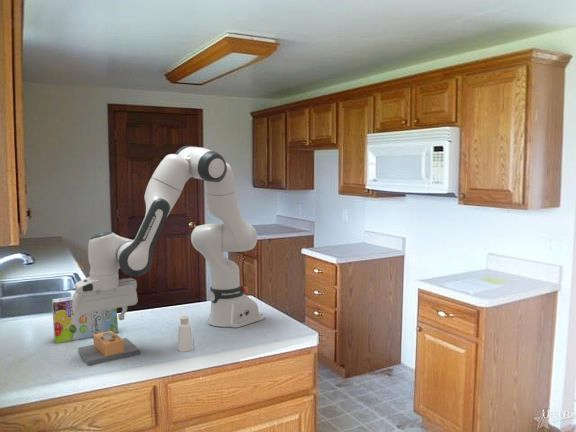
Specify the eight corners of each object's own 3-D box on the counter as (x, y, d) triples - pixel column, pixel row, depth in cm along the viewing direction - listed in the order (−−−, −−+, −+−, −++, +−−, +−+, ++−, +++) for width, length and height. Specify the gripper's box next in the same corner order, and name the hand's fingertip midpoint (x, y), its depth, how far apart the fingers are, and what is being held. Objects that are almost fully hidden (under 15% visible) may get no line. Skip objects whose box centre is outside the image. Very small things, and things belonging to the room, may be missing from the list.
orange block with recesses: (93, 346, 164) (93, 334, 164) (111, 341, 168) (111, 330, 167) (105, 356, 155) (104, 344, 154) (124, 352, 158) (123, 340, 158)
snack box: (115, 329, 186) (113, 290, 185) (118, 333, 181) (116, 293, 180) (54, 339, 176) (51, 298, 174) (55, 344, 171) (52, 302, 169)
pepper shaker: (194, 345, 167) (193, 314, 166) (193, 351, 162) (192, 319, 161) (177, 346, 167) (176, 315, 166) (176, 352, 161) (175, 320, 160)
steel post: (112, 350, 164) (111, 331, 163) (114, 353, 161) (113, 334, 161) (102, 352, 162) (101, 333, 161) (105, 355, 160) (104, 336, 159)
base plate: (126, 341, 172) (126, 337, 172) (139, 354, 161) (139, 349, 160) (78, 352, 163) (78, 347, 163) (88, 365, 151) (88, 361, 151)
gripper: (133, 275, 168) (135, 313, 170) (69, 284, 157) (72, 325, 159) (139, 278, 163) (141, 318, 165) (73, 288, 152) (76, 331, 154)
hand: (107, 322), depth 162 cm, fingers open, 8 cm apart
